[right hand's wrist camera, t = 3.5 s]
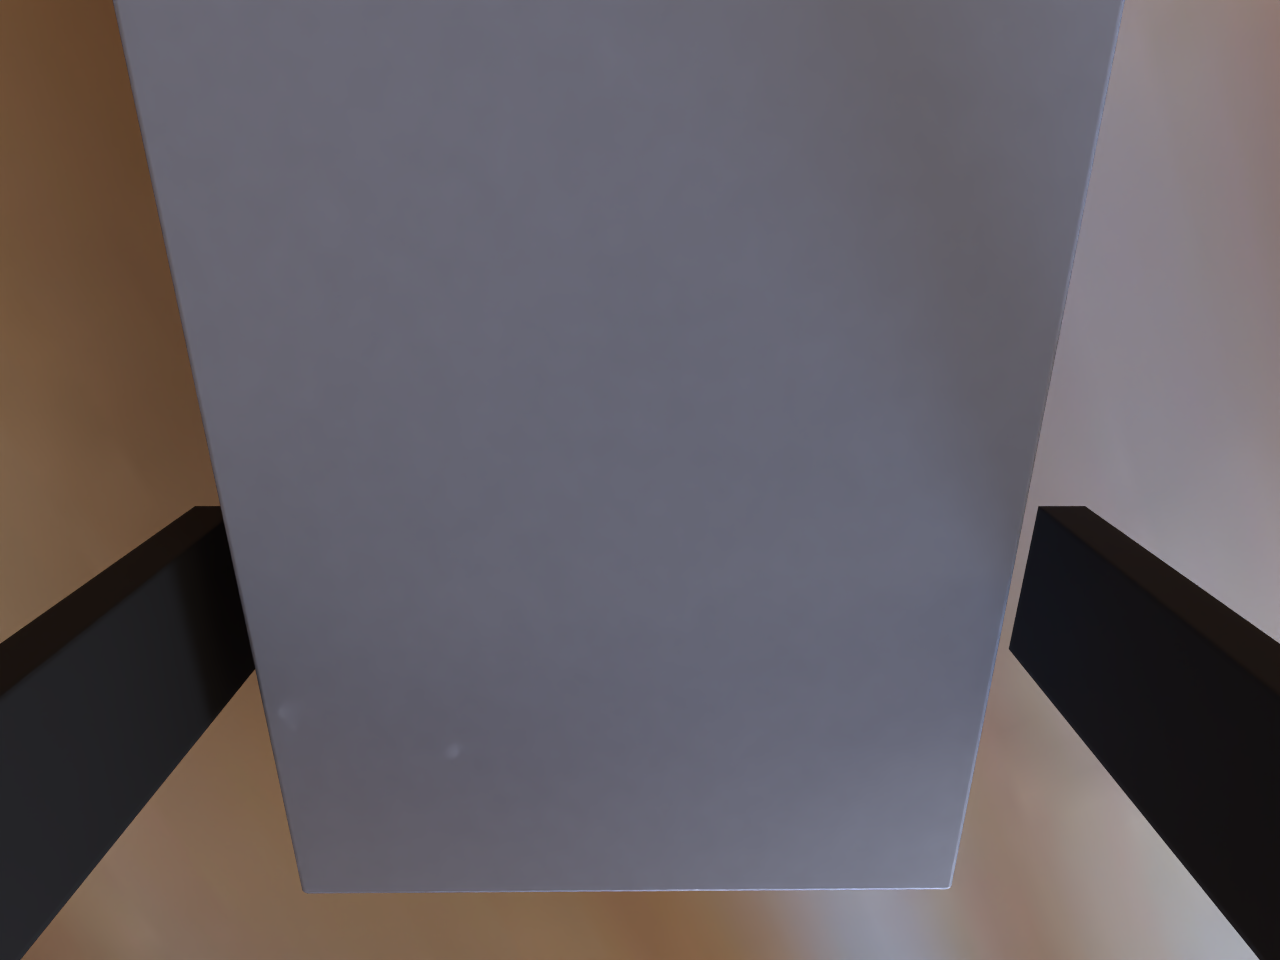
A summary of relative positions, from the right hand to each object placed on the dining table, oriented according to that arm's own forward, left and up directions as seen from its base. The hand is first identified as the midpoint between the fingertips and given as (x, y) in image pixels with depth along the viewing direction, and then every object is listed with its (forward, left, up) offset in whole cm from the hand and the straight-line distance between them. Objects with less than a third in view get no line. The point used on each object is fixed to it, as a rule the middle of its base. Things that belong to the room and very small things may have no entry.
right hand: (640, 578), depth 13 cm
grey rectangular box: (+2, +5, -7) cm, 9 cm away
